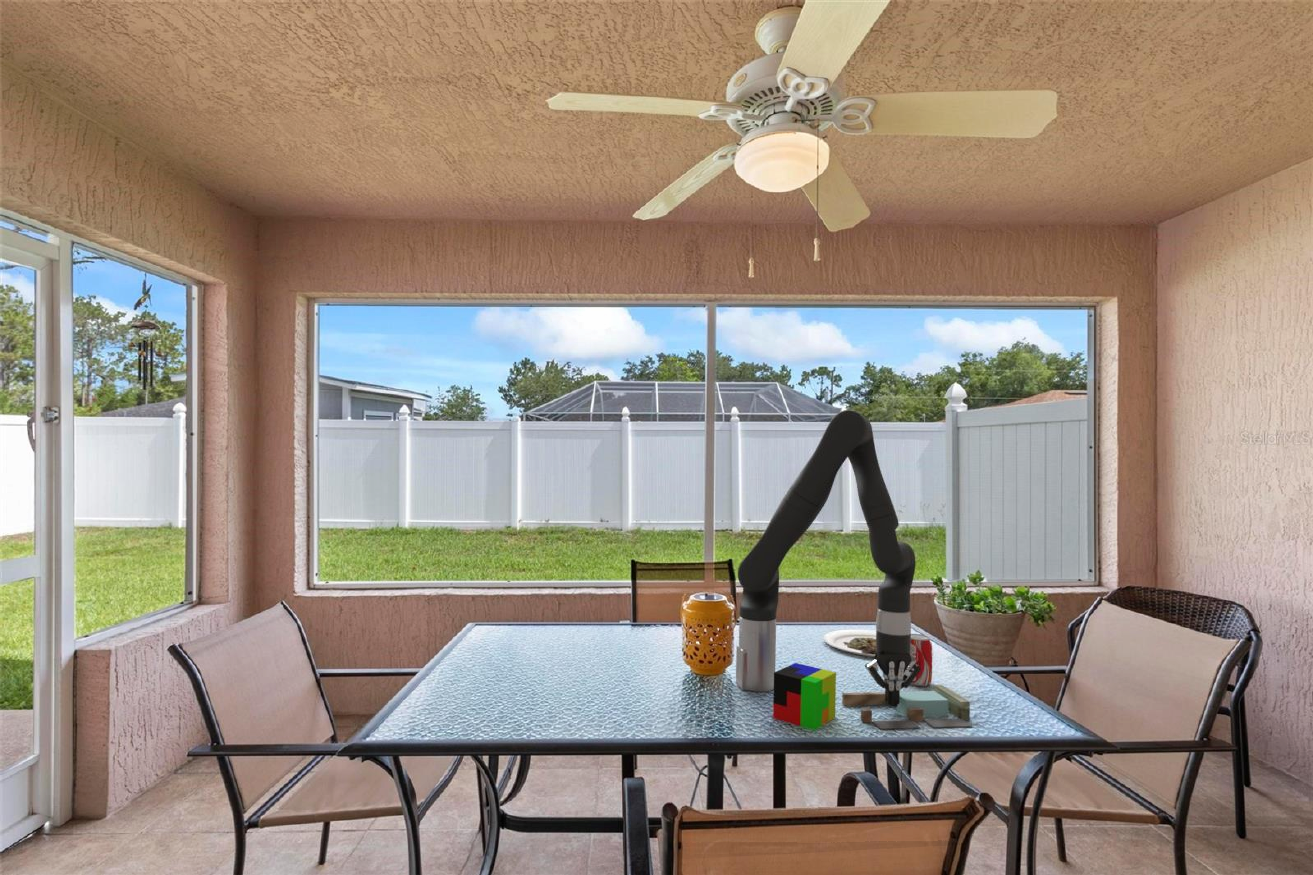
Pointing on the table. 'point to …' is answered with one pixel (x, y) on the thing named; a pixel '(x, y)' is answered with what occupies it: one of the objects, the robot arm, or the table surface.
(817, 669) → the puzzle toy
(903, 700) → the teal block
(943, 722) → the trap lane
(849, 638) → the plated food
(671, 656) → the table surface
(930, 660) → the soda can
